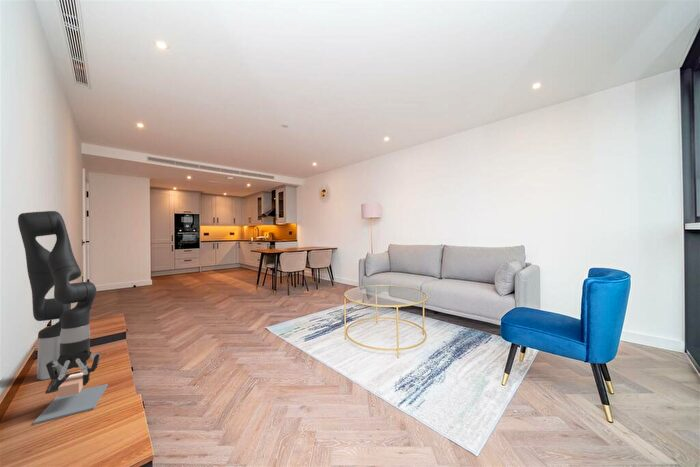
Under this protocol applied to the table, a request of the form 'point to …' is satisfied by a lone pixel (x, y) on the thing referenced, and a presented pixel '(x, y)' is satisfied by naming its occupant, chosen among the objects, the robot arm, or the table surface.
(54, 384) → the phone
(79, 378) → the white-tipped pink eraser
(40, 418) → the mat
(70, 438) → the table surface
